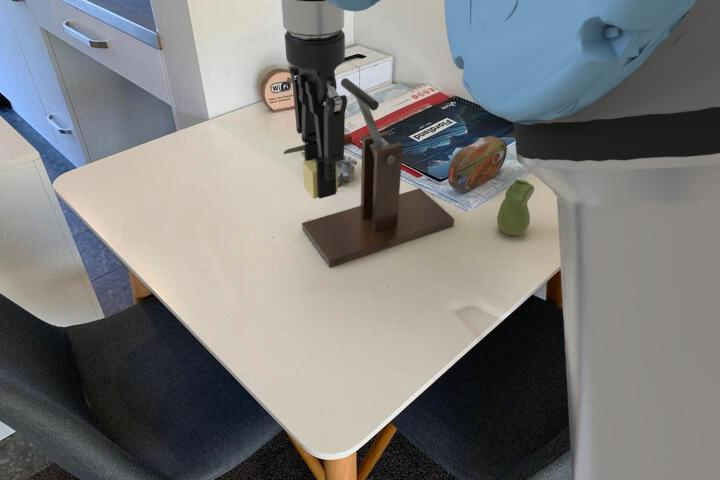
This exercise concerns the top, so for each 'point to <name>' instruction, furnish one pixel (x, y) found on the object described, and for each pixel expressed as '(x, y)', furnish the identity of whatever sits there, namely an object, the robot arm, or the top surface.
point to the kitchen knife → (301, 148)
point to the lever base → (377, 211)
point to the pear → (515, 208)
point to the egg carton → (344, 169)
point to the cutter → (366, 112)
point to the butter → (312, 177)
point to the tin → (477, 163)
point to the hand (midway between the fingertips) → (320, 187)
